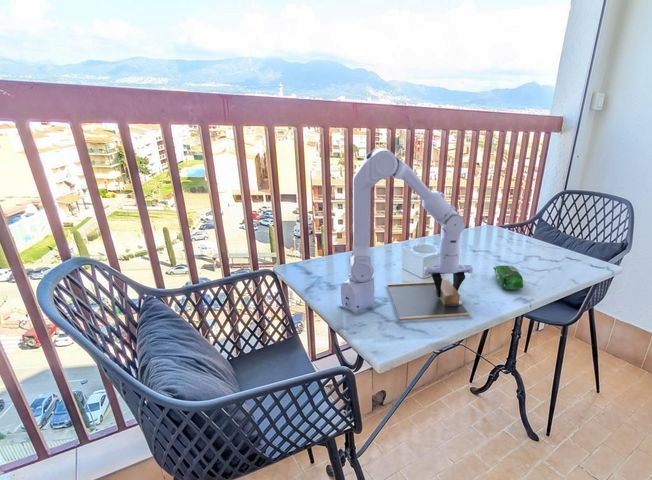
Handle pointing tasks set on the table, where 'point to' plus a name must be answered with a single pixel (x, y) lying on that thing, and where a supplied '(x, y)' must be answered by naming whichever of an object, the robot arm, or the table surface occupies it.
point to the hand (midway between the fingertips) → (446, 295)
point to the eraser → (448, 294)
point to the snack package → (508, 277)
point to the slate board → (421, 302)
